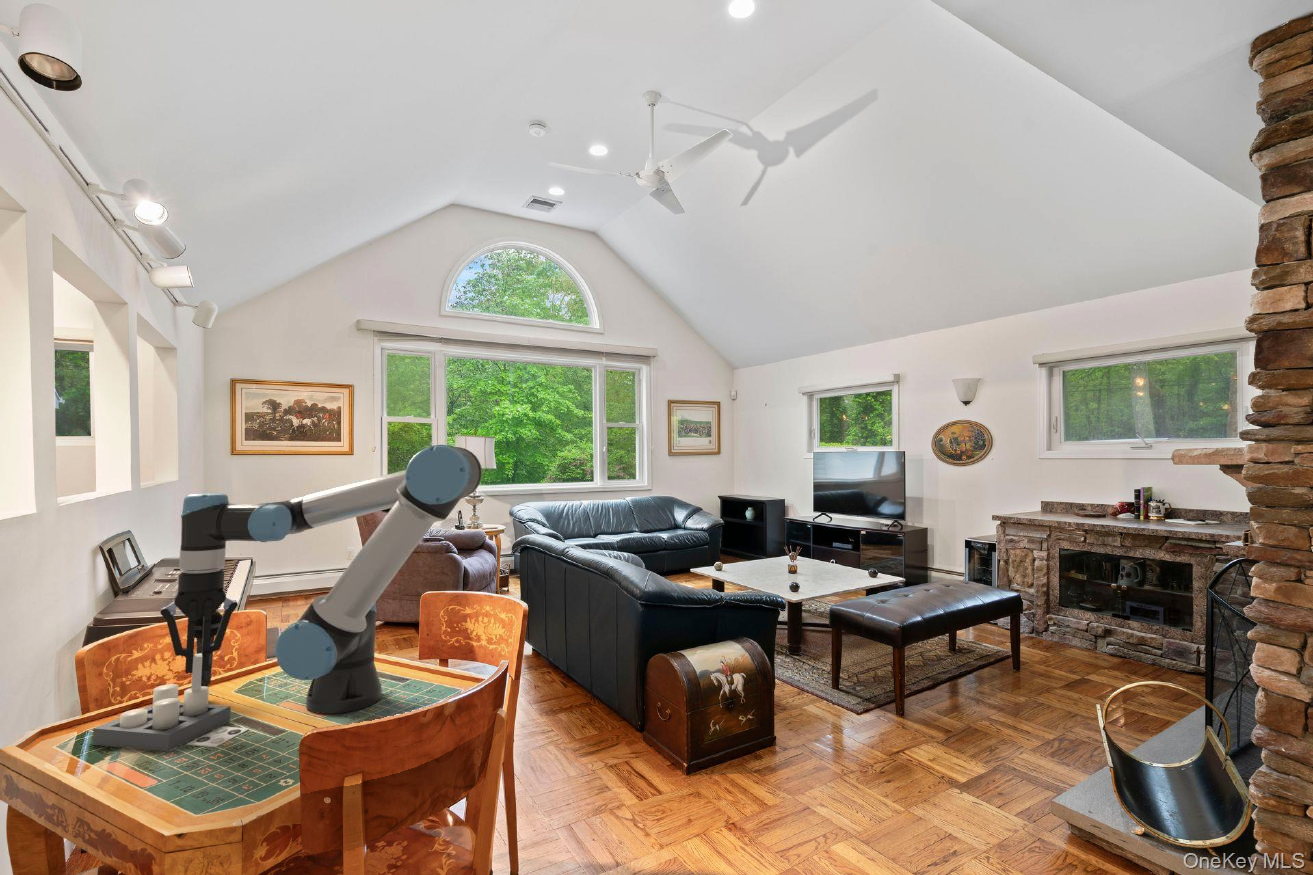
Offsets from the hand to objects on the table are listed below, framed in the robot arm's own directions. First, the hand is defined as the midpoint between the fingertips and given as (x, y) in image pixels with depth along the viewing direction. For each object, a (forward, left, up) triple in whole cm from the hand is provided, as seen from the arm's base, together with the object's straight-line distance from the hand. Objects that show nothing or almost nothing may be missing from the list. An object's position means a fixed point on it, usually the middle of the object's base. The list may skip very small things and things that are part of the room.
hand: (196, 687), depth 126 cm
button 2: (+7, 0, -5) cm, 8 cm away
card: (-9, +3, -8) cm, 12 cm away
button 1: (+7, +7, -7) cm, 12 cm away
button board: (+3, +3, -8) cm, 9 cm away
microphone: (+10, -13, -8) cm, 18 cm away
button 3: (0, +7, -5) cm, 8 cm away
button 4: (0, 0, -5) cm, 5 cm away
